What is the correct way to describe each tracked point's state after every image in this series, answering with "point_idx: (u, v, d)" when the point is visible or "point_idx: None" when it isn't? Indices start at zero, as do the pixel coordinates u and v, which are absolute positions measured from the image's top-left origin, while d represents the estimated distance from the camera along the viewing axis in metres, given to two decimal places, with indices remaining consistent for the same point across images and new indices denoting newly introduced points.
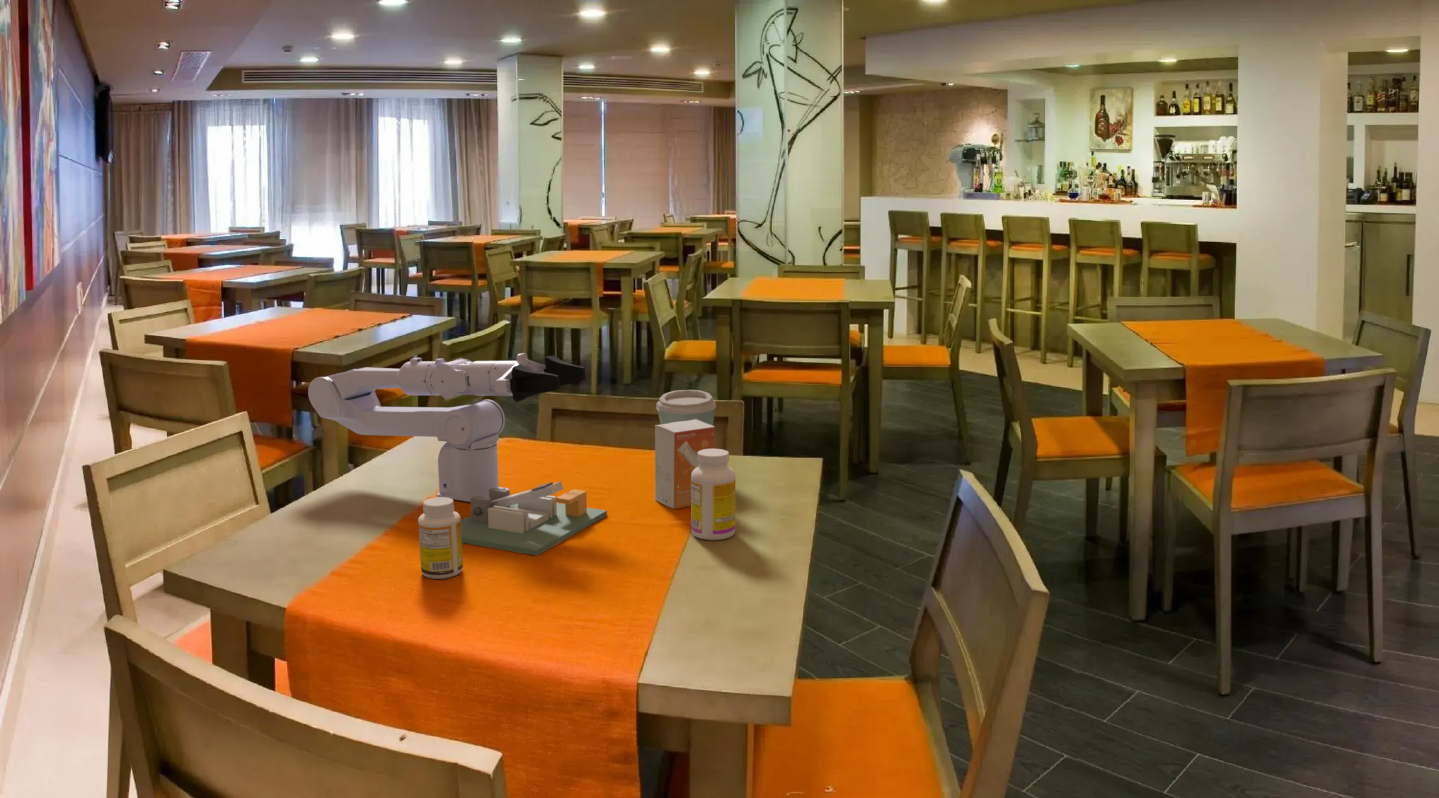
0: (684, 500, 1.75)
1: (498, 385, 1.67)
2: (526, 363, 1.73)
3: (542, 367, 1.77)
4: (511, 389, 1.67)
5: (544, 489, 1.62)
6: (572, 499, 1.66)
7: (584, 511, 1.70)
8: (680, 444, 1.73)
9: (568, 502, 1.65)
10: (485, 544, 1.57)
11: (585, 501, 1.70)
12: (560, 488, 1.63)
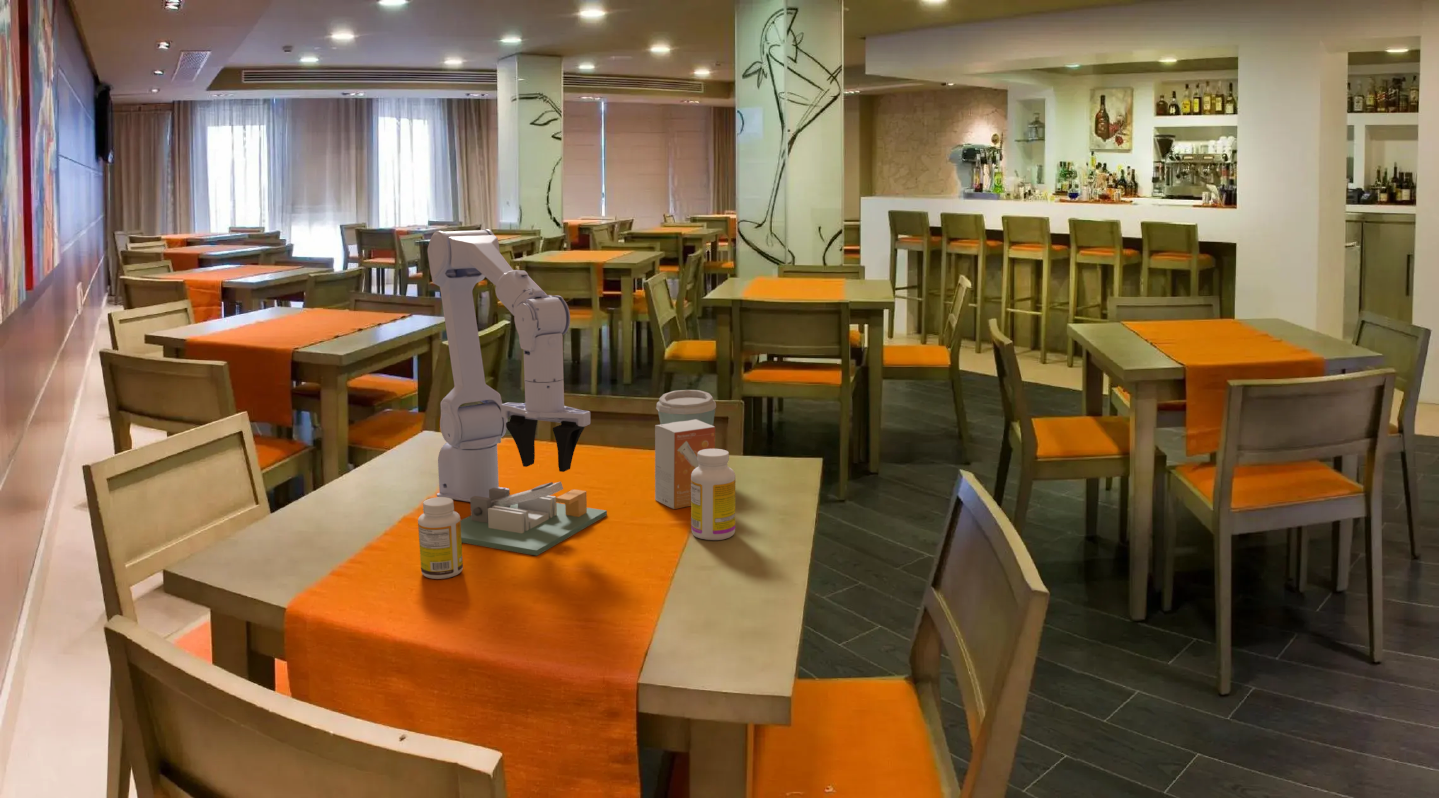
0: (684, 500, 1.75)
1: None
2: None
3: (568, 417, 1.58)
4: None
5: (544, 489, 1.62)
6: (572, 499, 1.66)
7: (584, 511, 1.70)
8: (680, 444, 1.73)
9: (568, 502, 1.65)
10: (485, 544, 1.57)
11: (585, 501, 1.70)
12: (560, 488, 1.63)
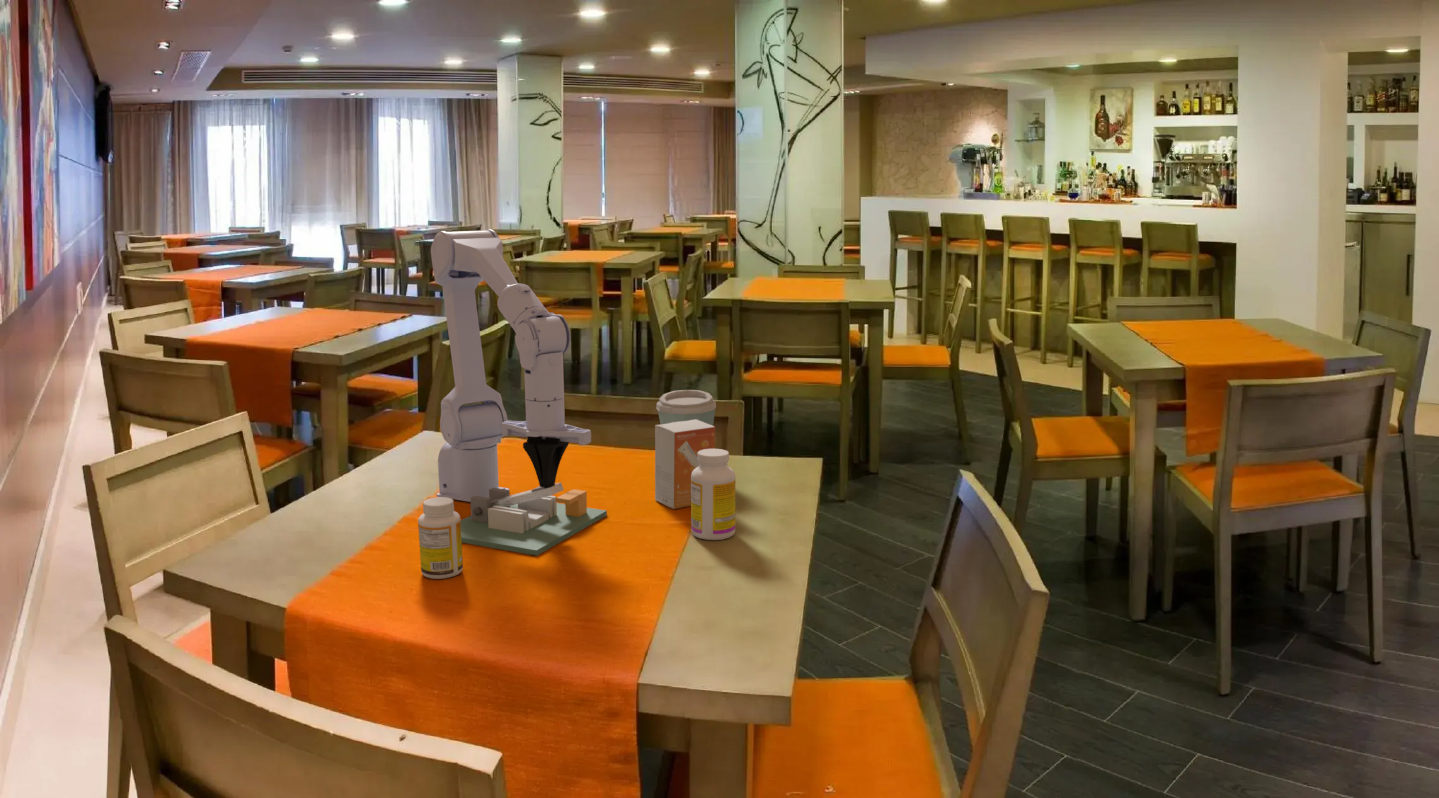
0: (684, 500, 1.75)
1: None
2: None
3: None
4: None
5: (544, 490, 1.62)
6: (572, 499, 1.66)
7: (584, 511, 1.70)
8: (680, 444, 1.73)
9: (568, 502, 1.65)
10: (485, 544, 1.57)
11: (585, 501, 1.70)
12: (560, 489, 1.63)
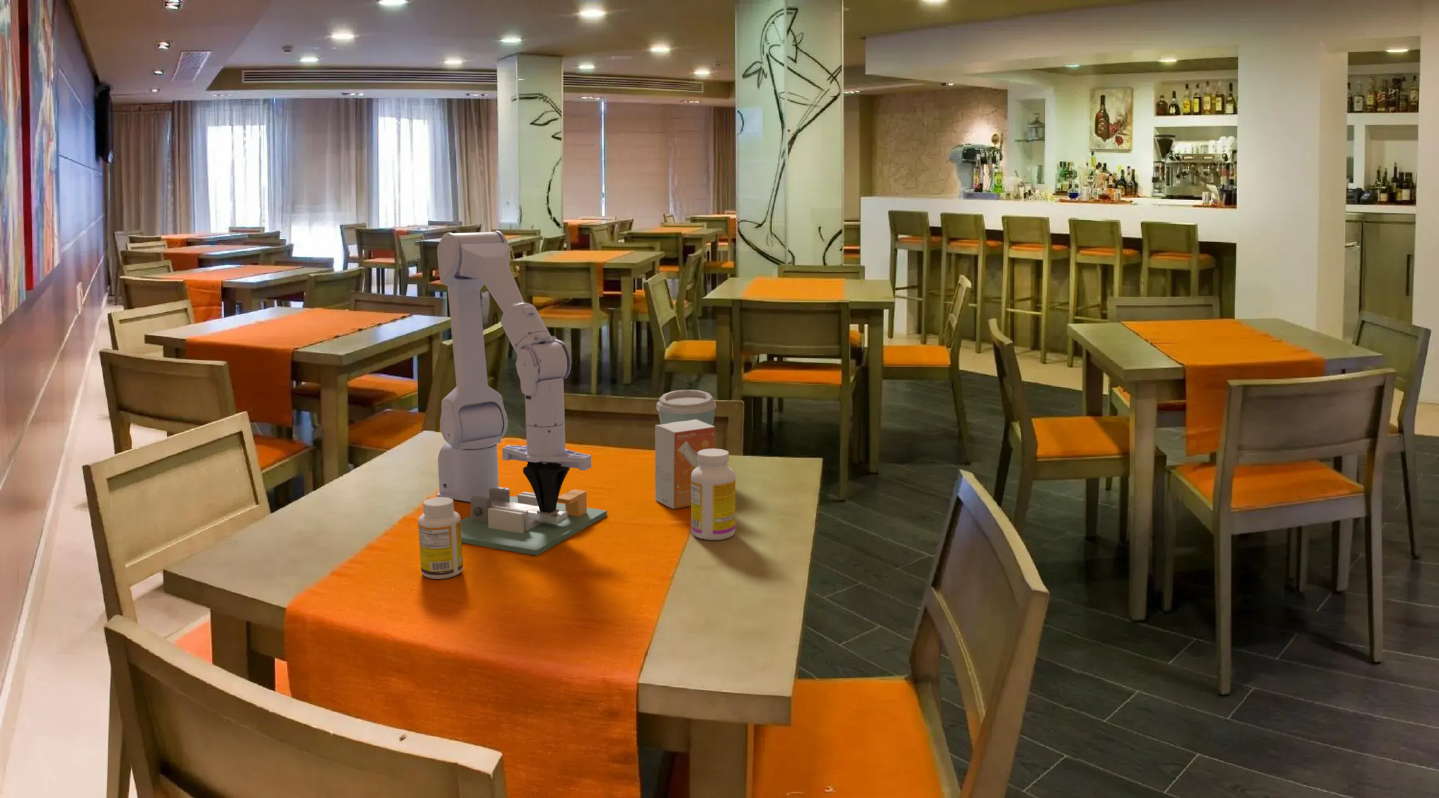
0: (684, 500, 1.75)
1: None
2: None
3: (569, 461, 1.59)
4: None
5: (550, 516, 1.62)
6: (572, 499, 1.66)
7: (584, 511, 1.70)
8: (680, 444, 1.73)
9: (568, 502, 1.65)
10: (485, 544, 1.57)
11: (585, 501, 1.70)
12: (564, 518, 1.64)
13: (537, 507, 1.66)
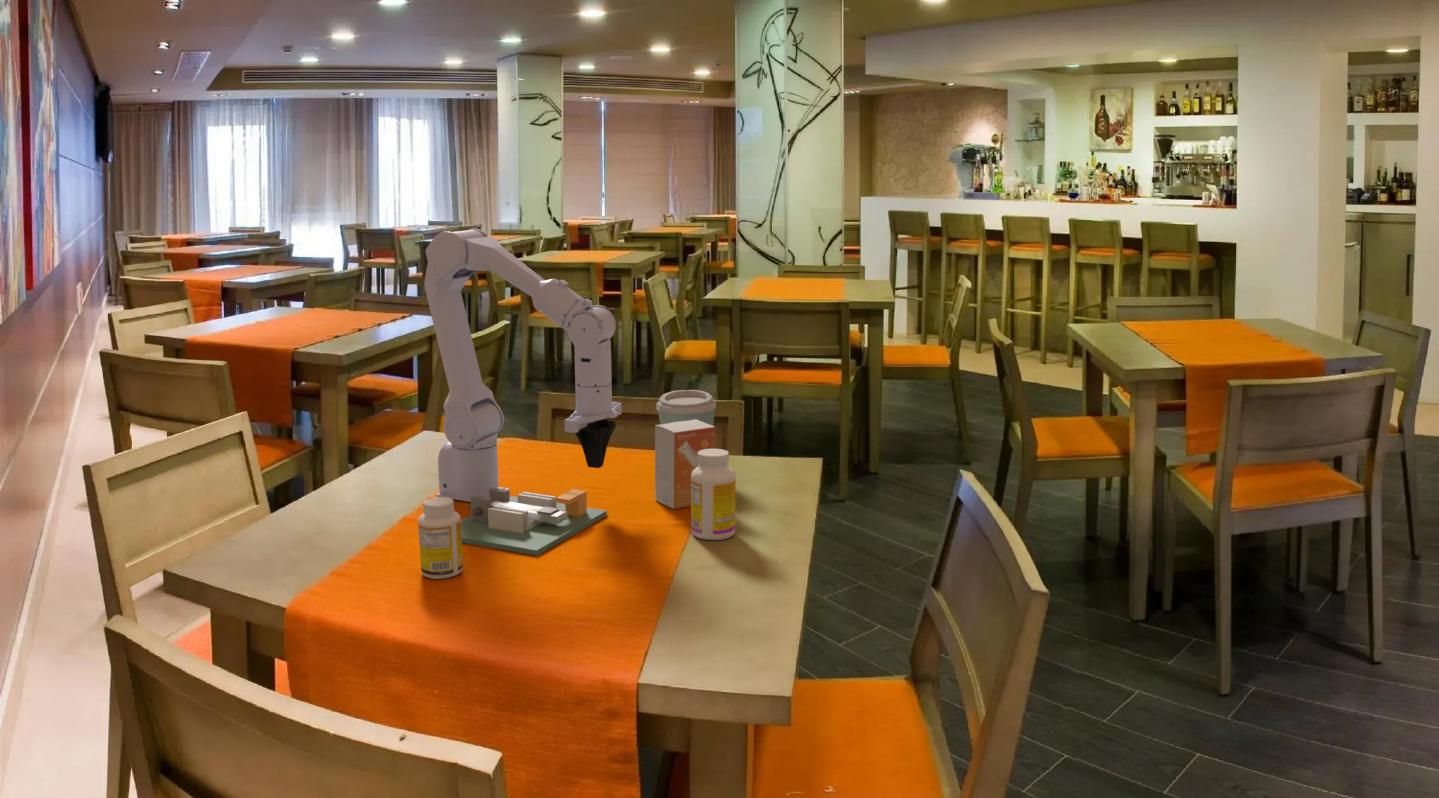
0: (684, 500, 1.75)
1: (570, 424, 1.66)
2: None
3: None
4: None
5: (550, 516, 1.62)
6: (572, 499, 1.66)
7: (584, 511, 1.70)
8: (680, 444, 1.73)
9: (568, 502, 1.65)
10: (485, 544, 1.57)
11: (585, 501, 1.70)
12: (564, 518, 1.64)
13: (537, 507, 1.66)
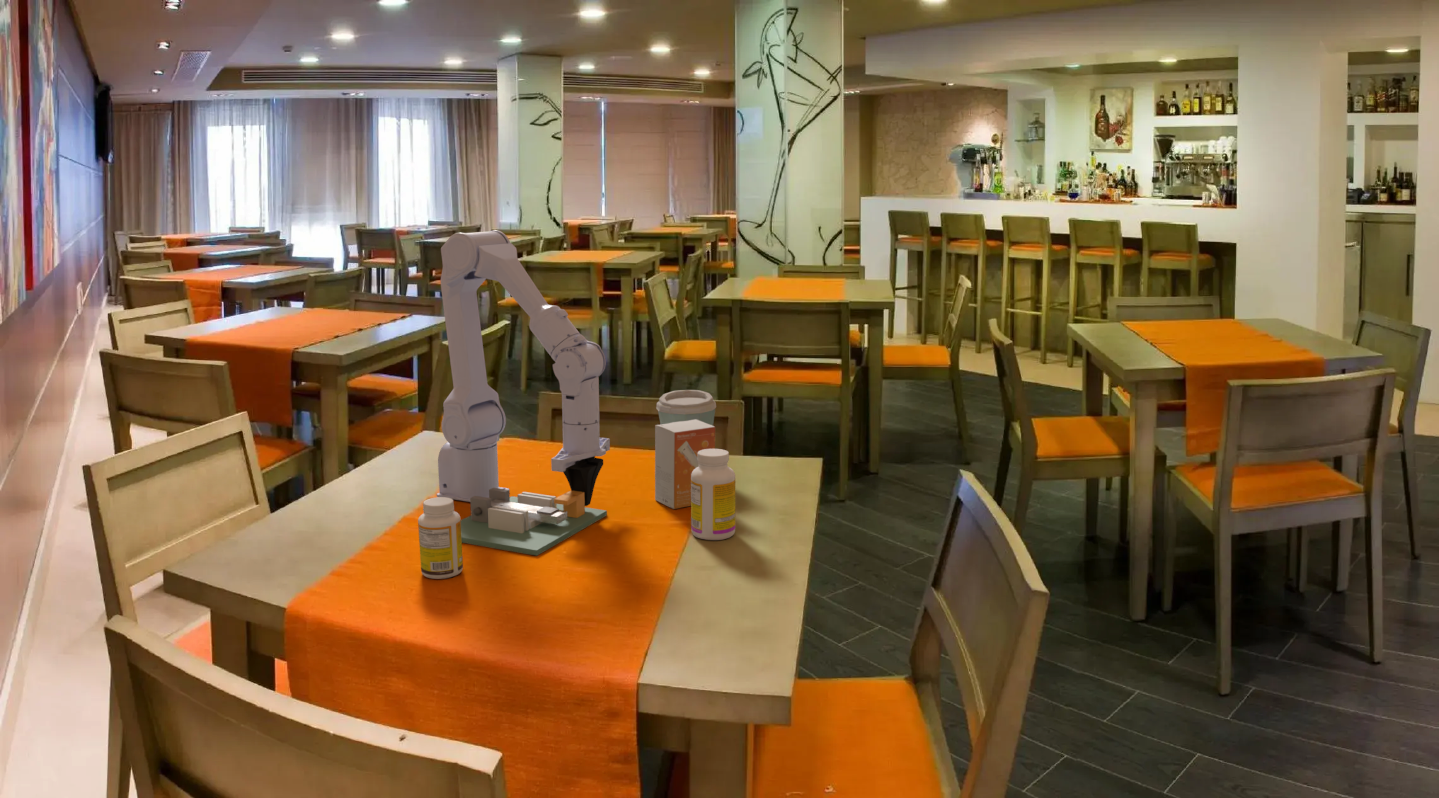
0: (684, 500, 1.75)
1: (557, 463, 1.63)
2: None
3: None
4: None
5: (550, 516, 1.62)
6: (570, 500, 1.66)
7: (582, 512, 1.69)
8: (680, 444, 1.73)
9: (566, 503, 1.65)
10: (485, 544, 1.57)
11: (583, 502, 1.69)
12: (564, 518, 1.64)
13: (537, 507, 1.66)
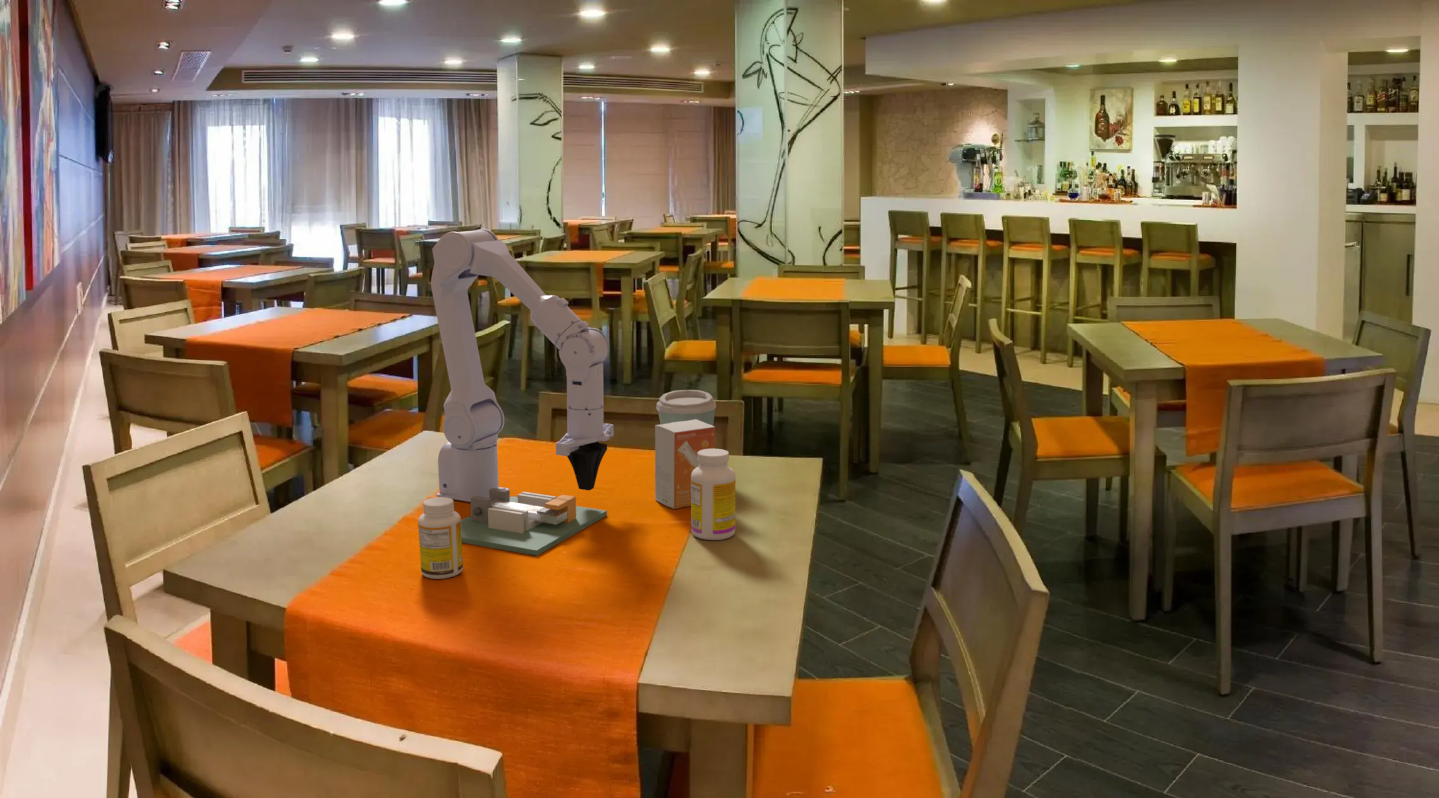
0: (684, 500, 1.75)
1: (561, 447, 1.65)
2: None
3: None
4: None
5: (550, 516, 1.62)
6: (561, 505, 1.63)
7: (573, 517, 1.67)
8: (680, 444, 1.73)
9: (557, 508, 1.63)
10: (485, 544, 1.57)
11: (574, 506, 1.67)
12: (564, 518, 1.64)
13: (537, 507, 1.66)
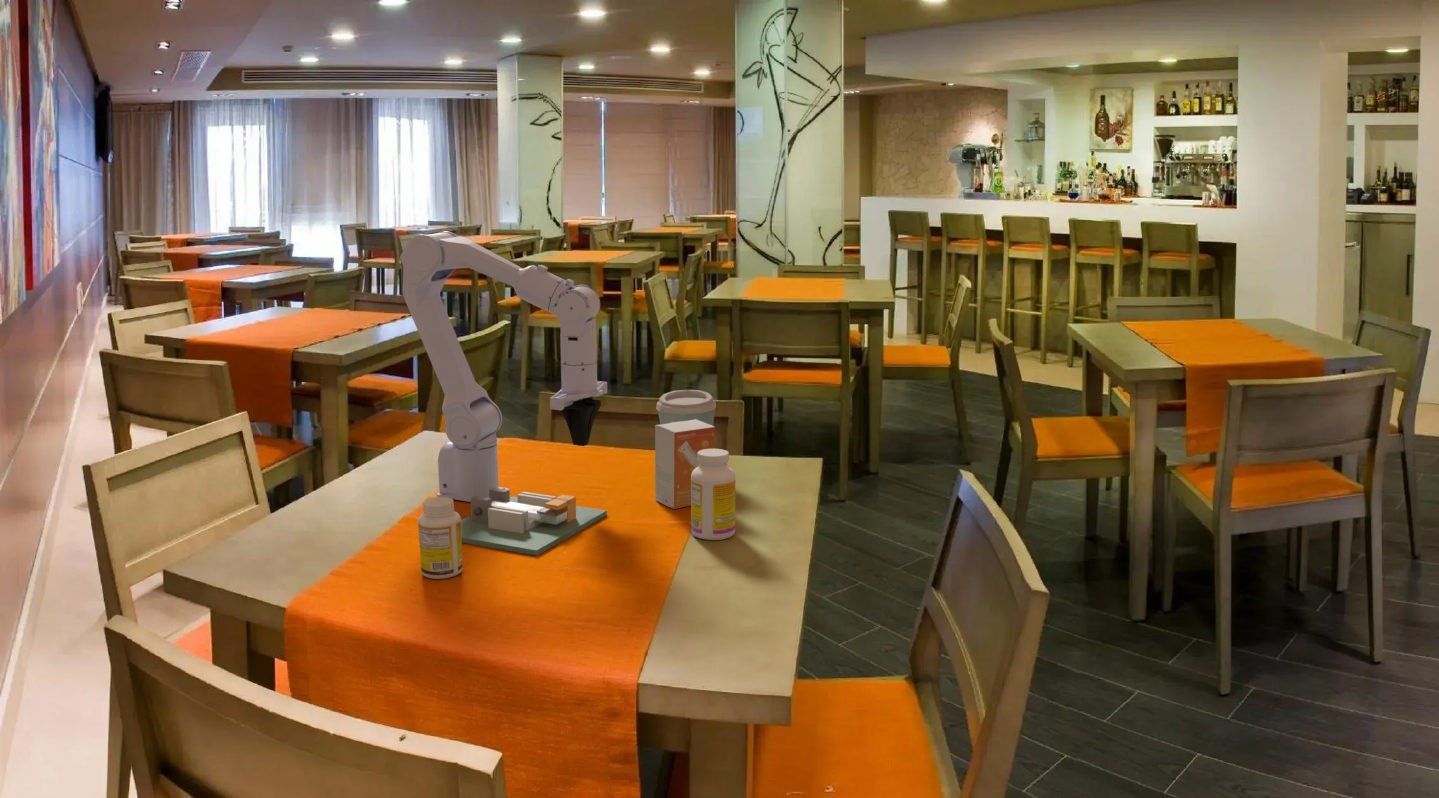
0: (684, 500, 1.75)
1: (556, 401, 1.68)
2: None
3: None
4: None
5: (550, 516, 1.62)
6: (561, 505, 1.63)
7: (573, 517, 1.67)
8: (680, 444, 1.73)
9: (557, 508, 1.63)
10: (485, 544, 1.57)
11: (574, 506, 1.67)
12: (564, 518, 1.64)
13: (537, 507, 1.66)
